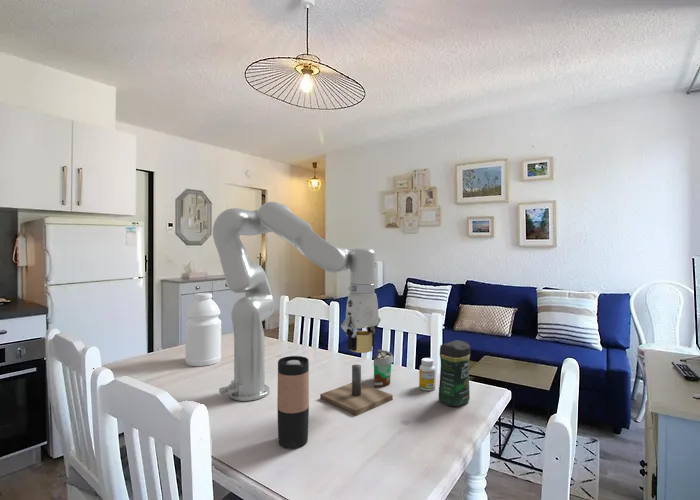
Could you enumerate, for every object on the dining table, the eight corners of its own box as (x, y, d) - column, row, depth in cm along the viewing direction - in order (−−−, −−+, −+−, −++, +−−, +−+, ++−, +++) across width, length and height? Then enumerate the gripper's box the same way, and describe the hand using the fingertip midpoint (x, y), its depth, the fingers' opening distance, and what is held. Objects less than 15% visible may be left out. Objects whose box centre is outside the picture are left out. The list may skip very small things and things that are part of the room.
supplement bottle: (423, 383, 130) (423, 356, 130) (438, 387, 127) (438, 358, 127) (416, 388, 126) (416, 360, 126) (431, 392, 123) (431, 363, 123)
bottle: (208, 354, 164) (208, 290, 164) (228, 360, 156) (228, 293, 156) (178, 362, 153) (178, 294, 152) (197, 369, 144) (197, 297, 144)
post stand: (356, 415, 106) (356, 378, 106) (320, 398, 117) (320, 365, 117) (392, 399, 117) (392, 366, 117) (356, 385, 128) (356, 355, 128)
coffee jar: (457, 410, 110) (457, 347, 110) (434, 401, 116) (435, 341, 115) (474, 401, 116) (474, 341, 116) (451, 393, 122) (452, 336, 122)
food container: (391, 390, 124) (391, 360, 124) (373, 388, 126) (373, 359, 126) (394, 377, 137) (395, 350, 136) (378, 376, 138) (378, 349, 138)
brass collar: (360, 354, 109) (361, 337, 109) (345, 349, 114) (346, 332, 114) (376, 350, 114) (376, 333, 114) (361, 345, 119) (361, 329, 119)
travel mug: (279, 434, 95) (279, 356, 95) (309, 432, 96) (309, 355, 96) (275, 450, 88) (275, 365, 88) (308, 449, 88) (308, 365, 88)
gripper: (349, 292, 105) (348, 356, 105) (390, 288, 117) (389, 345, 117) (332, 289, 111) (331, 350, 111) (373, 286, 122) (371, 340, 123)
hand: (360, 347), depth 114 cm, fingers closed on brass collar, 6 cm apart
